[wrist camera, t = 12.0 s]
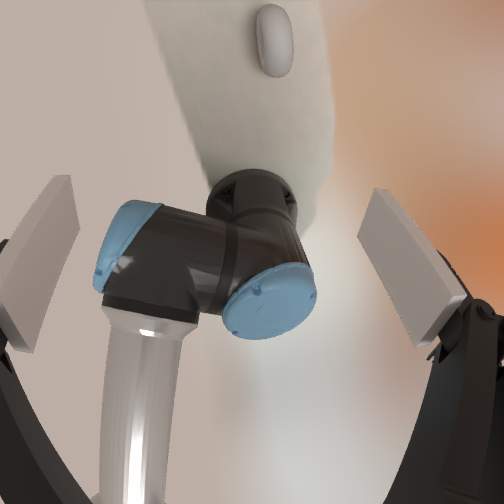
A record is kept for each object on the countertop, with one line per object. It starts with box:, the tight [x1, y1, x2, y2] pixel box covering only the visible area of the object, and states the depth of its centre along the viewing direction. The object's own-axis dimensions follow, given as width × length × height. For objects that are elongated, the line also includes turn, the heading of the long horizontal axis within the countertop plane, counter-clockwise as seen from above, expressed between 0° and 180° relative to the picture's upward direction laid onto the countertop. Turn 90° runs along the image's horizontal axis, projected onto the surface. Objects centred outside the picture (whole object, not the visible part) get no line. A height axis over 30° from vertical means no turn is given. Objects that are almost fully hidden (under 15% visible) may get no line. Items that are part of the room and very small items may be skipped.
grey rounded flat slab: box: [256, 4, 294, 78], centre depth 33 cm, size 10×4×10 cm, turn 4°
